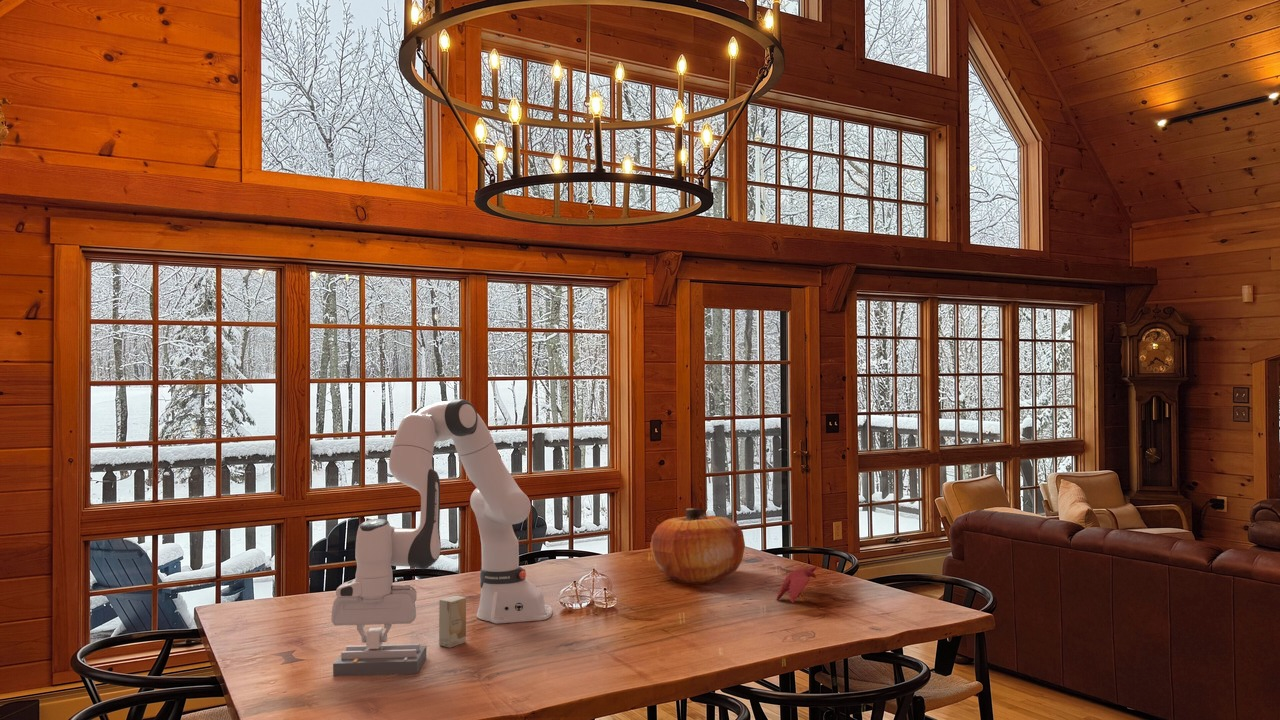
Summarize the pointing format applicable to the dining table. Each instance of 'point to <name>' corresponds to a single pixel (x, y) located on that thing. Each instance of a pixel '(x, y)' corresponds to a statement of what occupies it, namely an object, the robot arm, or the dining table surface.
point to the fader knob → (374, 639)
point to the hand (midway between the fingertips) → (374, 641)
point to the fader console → (380, 660)
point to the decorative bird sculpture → (796, 583)
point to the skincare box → (452, 621)
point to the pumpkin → (698, 547)
